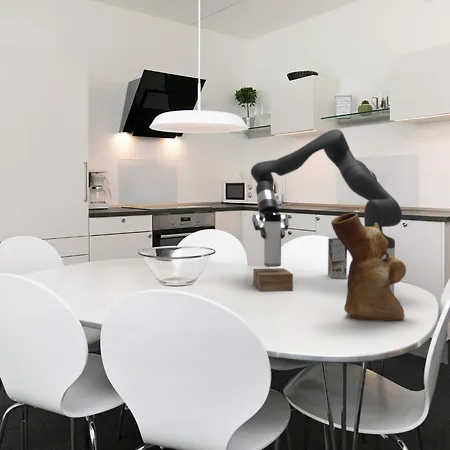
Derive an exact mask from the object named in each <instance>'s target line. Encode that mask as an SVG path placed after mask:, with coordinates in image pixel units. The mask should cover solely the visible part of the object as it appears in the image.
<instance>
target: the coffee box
mask: <svg viewBox="0 0 450 450" xmlns="http://www.w3.org/2000/svg"><path fill="white" fill-rule="evenodd" d="M327 239H328V240H327V241H328V242H327V245H328V246H327V253H328V254H327V255H328V256H327V265H328V266H327V276H329V277H330V276H331V277H332V278H331V277H330V278H331V279H347V277H348V274H347V273H348V272H347V271H348V270H347V269H348V268H347V266H348V257H347V256H348V250H347V249H346V248H345V246H344V245H343V244H342V242H341V241H340V240H339V239H338V237H333V238H330V237H329V238H327Z"/></svg>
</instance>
